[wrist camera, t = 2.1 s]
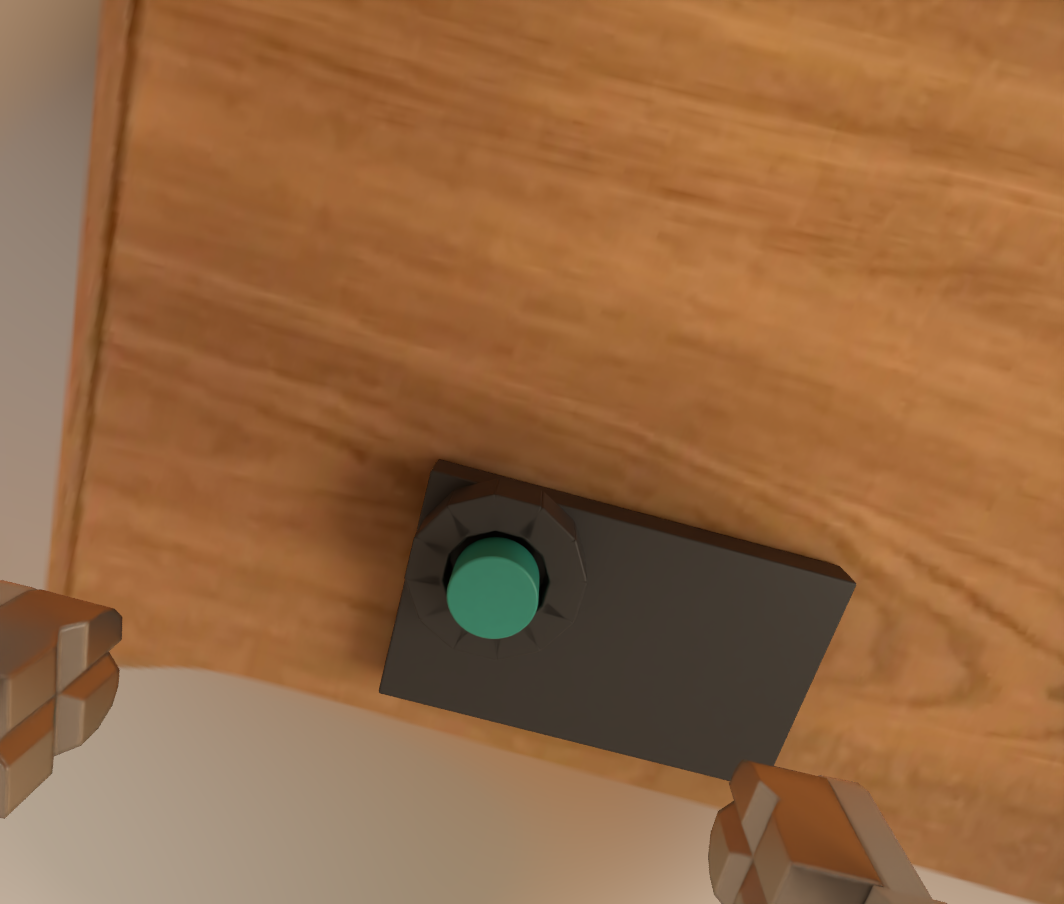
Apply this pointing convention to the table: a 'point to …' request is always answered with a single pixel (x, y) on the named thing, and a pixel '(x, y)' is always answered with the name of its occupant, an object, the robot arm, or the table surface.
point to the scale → (616, 627)
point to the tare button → (494, 588)
